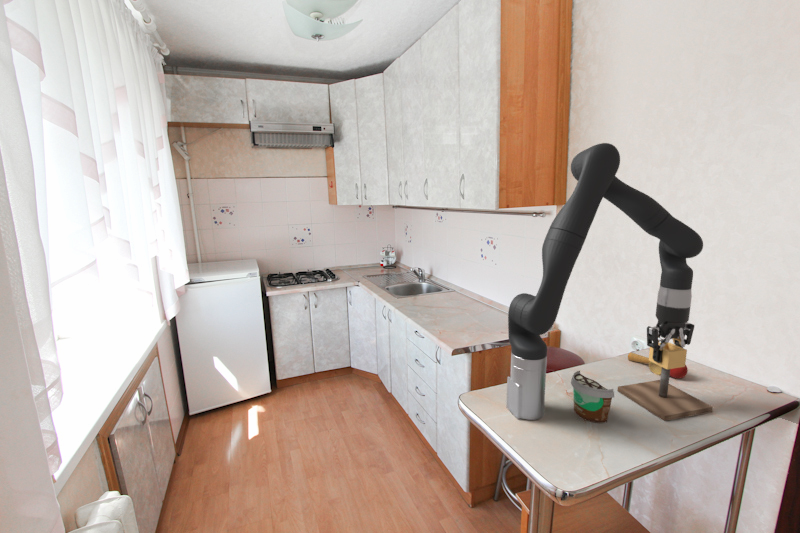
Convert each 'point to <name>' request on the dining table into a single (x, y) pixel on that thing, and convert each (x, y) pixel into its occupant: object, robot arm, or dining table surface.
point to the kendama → (656, 368)
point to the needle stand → (664, 398)
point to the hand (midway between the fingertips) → (666, 359)
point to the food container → (591, 399)
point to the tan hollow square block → (670, 356)
